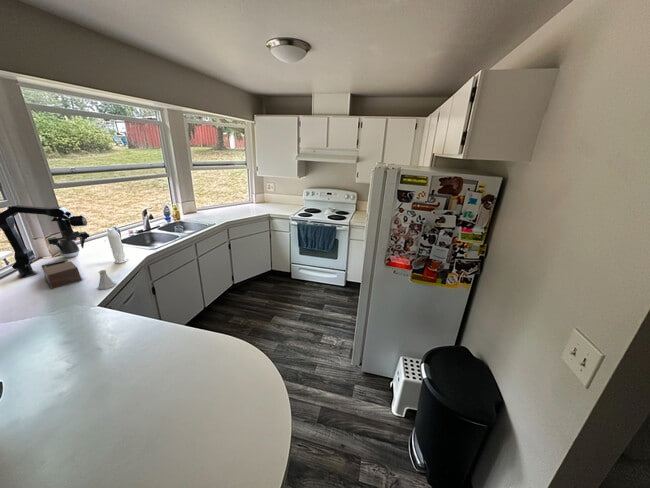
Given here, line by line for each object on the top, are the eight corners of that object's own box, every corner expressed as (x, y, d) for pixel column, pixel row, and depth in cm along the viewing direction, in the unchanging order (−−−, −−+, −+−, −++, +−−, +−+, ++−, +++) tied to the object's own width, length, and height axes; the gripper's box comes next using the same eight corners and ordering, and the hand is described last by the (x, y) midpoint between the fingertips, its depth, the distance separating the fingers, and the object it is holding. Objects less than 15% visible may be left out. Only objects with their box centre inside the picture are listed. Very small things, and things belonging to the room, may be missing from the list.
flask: (105, 290, 142) (100, 274, 139) (95, 288, 143) (90, 273, 140) (118, 284, 149) (113, 269, 145) (108, 282, 150) (103, 267, 147)
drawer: (43, 273, 157) (39, 263, 155) (68, 267, 166) (65, 257, 164) (49, 281, 148) (45, 271, 145) (75, 274, 156) (72, 265, 154)
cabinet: (47, 280, 150) (41, 268, 147) (75, 273, 160) (70, 261, 157) (52, 288, 142) (47, 275, 140) (81, 280, 152) (77, 267, 149)
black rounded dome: (83, 255, 186) (77, 236, 181) (64, 260, 178) (57, 240, 173) (78, 252, 191) (72, 233, 186) (60, 256, 183) (52, 237, 178)
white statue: (116, 260, 179) (106, 227, 171) (127, 258, 183) (118, 226, 174) (113, 265, 172) (103, 230, 164) (125, 263, 176) (116, 229, 167)
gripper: (46, 233, 146) (55, 257, 151) (88, 226, 160) (95, 249, 165) (42, 229, 152) (51, 253, 157) (83, 223, 166) (90, 245, 171)
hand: (73, 250), depth 162 cm, fingers open, 9 cm apart
